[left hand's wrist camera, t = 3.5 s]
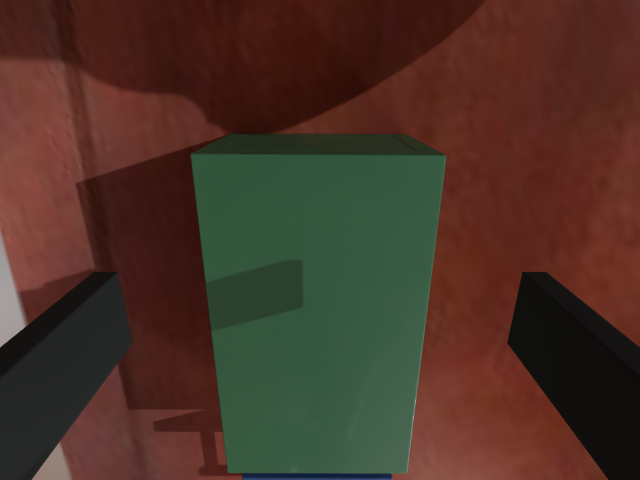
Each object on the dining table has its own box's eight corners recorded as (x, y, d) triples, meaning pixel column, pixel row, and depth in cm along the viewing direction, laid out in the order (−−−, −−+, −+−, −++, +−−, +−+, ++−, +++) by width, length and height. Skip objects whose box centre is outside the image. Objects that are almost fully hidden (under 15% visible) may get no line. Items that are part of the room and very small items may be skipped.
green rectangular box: (385, 380, 32) (407, 474, 24) (249, 379, 32) (227, 473, 24) (406, 134, 25) (447, 154, 17) (230, 133, 25) (189, 153, 17)
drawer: (374, 469, 35) (385, 547, 29) (260, 468, 34) (248, 547, 29) (395, 203, 25) (418, 238, 20) (241, 202, 25) (218, 237, 20)
